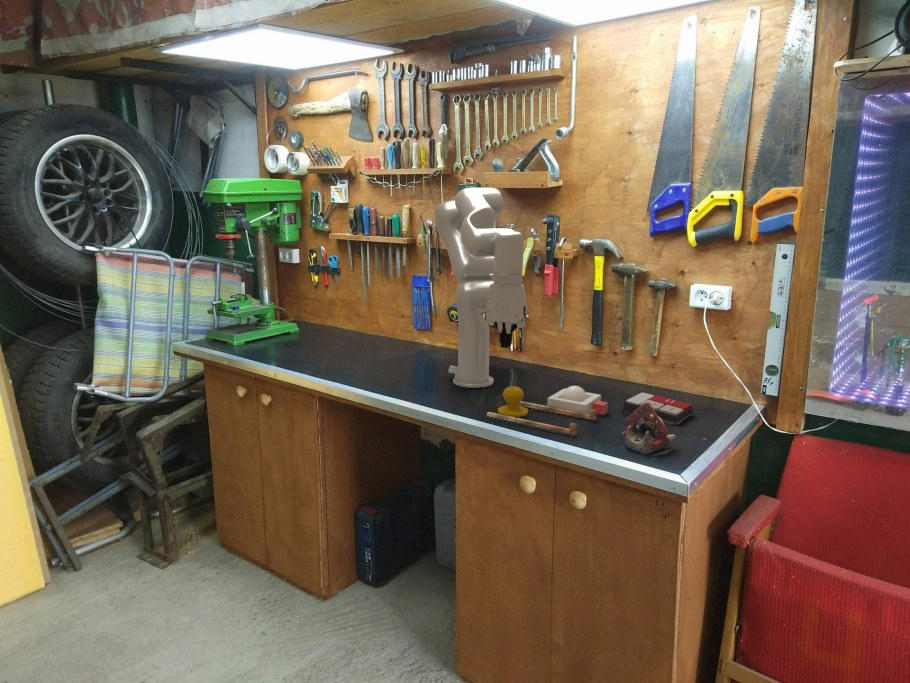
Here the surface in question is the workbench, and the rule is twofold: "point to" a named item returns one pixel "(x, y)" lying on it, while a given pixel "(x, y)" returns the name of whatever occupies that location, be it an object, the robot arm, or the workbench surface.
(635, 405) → the grey red flat block
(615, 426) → the workbench surface
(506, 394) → the doorknob
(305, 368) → the workbench surface
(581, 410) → the dome base
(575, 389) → the dome
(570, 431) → the wooden brackets
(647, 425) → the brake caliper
